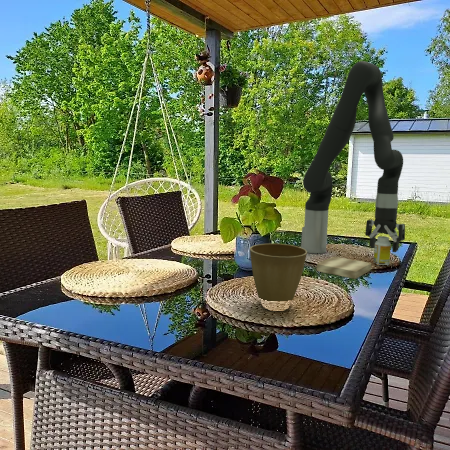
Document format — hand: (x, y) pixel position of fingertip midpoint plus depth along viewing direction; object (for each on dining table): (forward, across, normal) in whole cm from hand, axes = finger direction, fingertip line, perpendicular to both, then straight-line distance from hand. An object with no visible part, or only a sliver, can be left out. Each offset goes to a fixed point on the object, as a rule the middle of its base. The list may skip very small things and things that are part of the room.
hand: (383, 249), depth 168 cm
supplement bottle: (+6, 0, 0) cm, 6 cm away
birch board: (+5, -5, -18) cm, 20 cm away
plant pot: (+6, +4, -64) cm, 64 cm away
